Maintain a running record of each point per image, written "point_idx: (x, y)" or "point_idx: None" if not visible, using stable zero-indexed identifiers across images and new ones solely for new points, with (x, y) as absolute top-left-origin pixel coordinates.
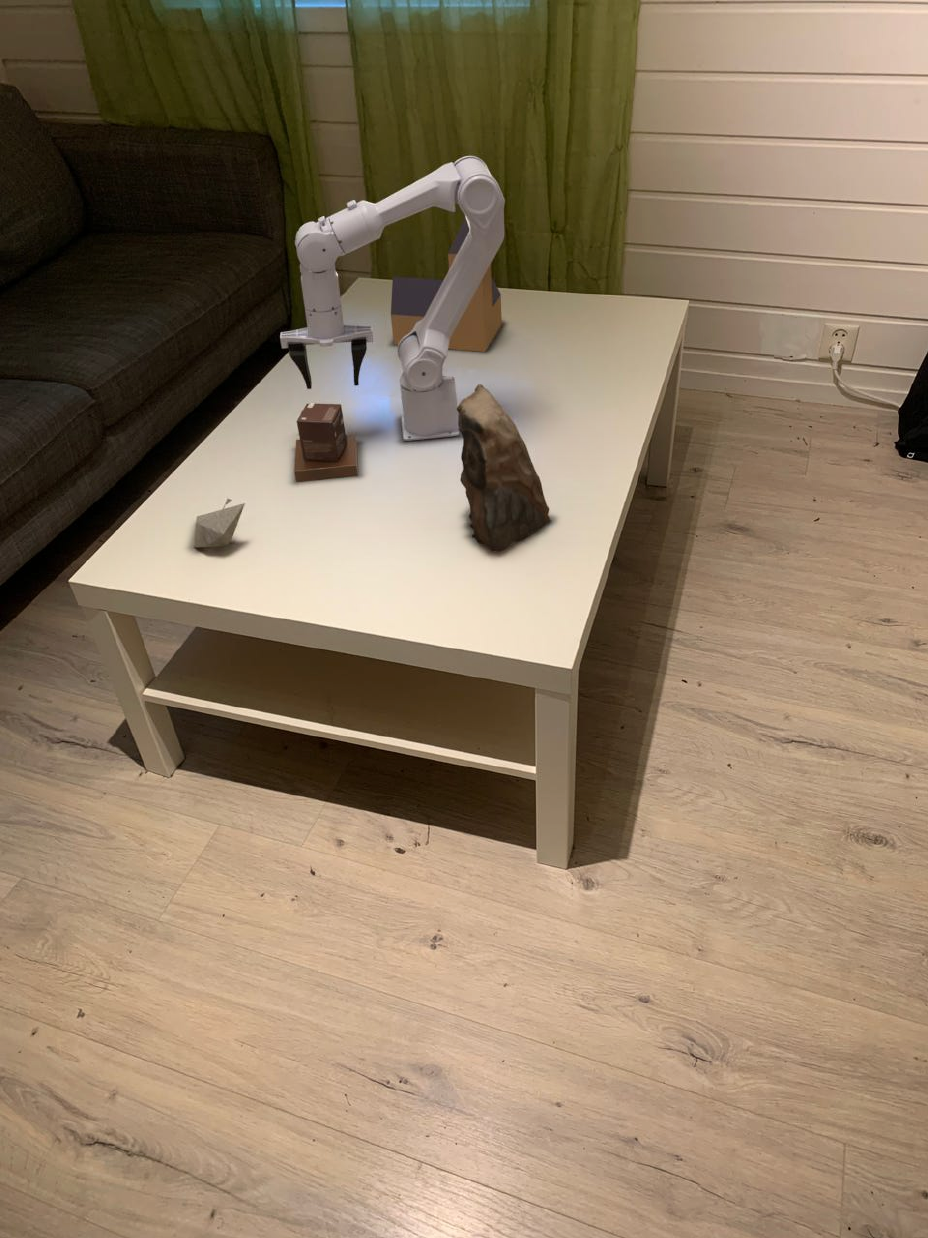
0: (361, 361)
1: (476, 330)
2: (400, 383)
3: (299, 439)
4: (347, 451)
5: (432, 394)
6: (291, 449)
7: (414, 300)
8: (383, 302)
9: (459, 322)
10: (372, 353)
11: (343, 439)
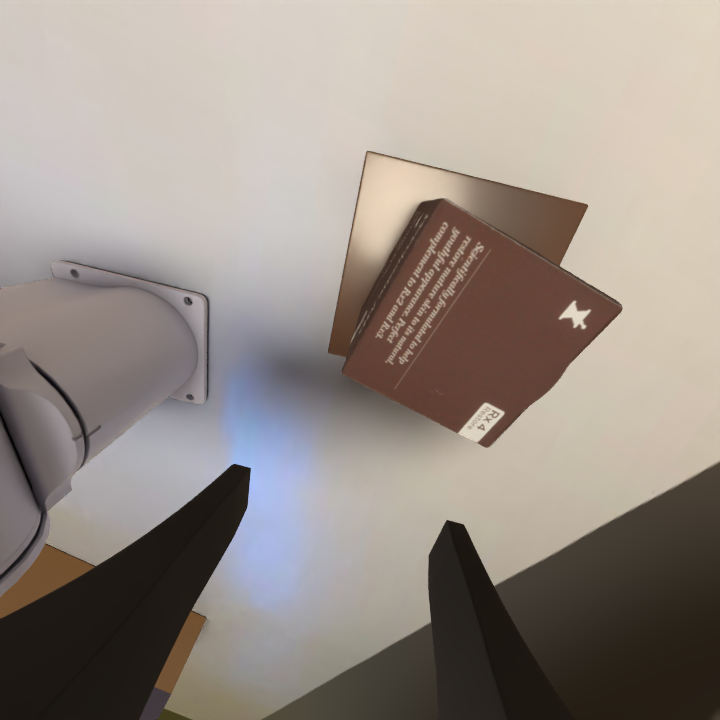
0: (84, 574)
1: (12, 593)
2: (76, 427)
3: None
4: (372, 262)
5: None
6: None
7: None
8: (215, 697)
9: None
10: (245, 612)
11: (375, 286)
